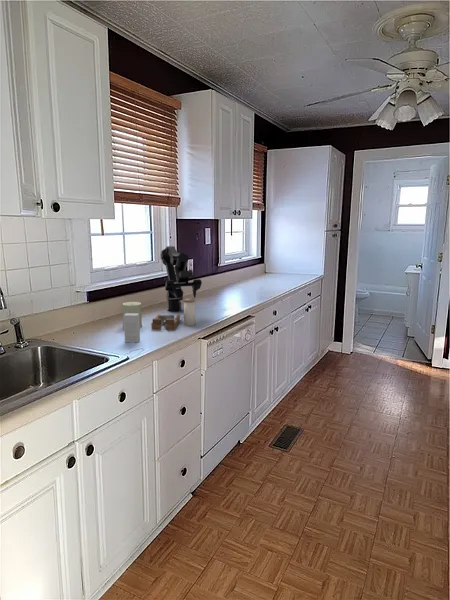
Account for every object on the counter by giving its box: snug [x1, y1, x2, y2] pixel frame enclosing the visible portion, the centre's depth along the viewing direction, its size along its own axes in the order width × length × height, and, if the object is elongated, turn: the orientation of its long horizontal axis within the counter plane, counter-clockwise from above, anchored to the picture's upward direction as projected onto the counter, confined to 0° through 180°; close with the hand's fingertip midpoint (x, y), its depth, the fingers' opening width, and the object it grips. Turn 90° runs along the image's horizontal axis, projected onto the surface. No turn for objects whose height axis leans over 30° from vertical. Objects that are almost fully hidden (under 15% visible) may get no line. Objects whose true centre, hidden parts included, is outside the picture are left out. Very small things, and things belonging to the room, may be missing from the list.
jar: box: [182, 297, 197, 327], centre depth 209 cm, size 6×6×13 cm
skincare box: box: [123, 313, 141, 343], centre depth 180 cm, size 6×4×12 cm
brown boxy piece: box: [150, 313, 181, 331], centre depth 209 cm, size 20×11×5 cm, turn 0°
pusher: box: [157, 314, 175, 325], centre depth 206 cm, size 8×8×4 cm
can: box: [122, 301, 143, 328], centre depth 204 cm, size 9×9×12 cm
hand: (186, 298), depth 214 cm, fingers open, 9 cm apart
